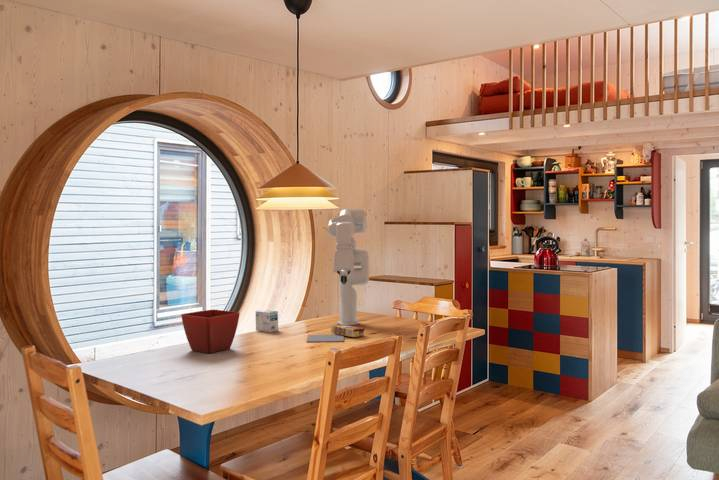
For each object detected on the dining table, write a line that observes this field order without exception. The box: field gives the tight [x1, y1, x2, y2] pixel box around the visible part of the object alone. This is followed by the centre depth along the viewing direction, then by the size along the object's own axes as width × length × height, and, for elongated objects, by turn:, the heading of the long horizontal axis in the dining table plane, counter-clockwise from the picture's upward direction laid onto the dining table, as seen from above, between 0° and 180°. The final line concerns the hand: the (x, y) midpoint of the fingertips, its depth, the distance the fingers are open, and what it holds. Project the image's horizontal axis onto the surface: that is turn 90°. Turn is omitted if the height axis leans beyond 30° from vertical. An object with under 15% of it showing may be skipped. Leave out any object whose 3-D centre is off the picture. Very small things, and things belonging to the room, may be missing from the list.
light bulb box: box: [255, 309, 279, 333], centre depth 316 cm, size 11×7×11 cm, turn 58°
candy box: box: [330, 324, 366, 338], centre depth 302 cm, size 9×4×15 cm
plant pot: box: [180, 309, 240, 354], centre depth 270 cm, size 19×19×17 cm
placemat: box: [306, 334, 345, 343], centre depth 293 cm, size 16×18×1 cm
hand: (343, 283), depth 296 cm, fingers closed
